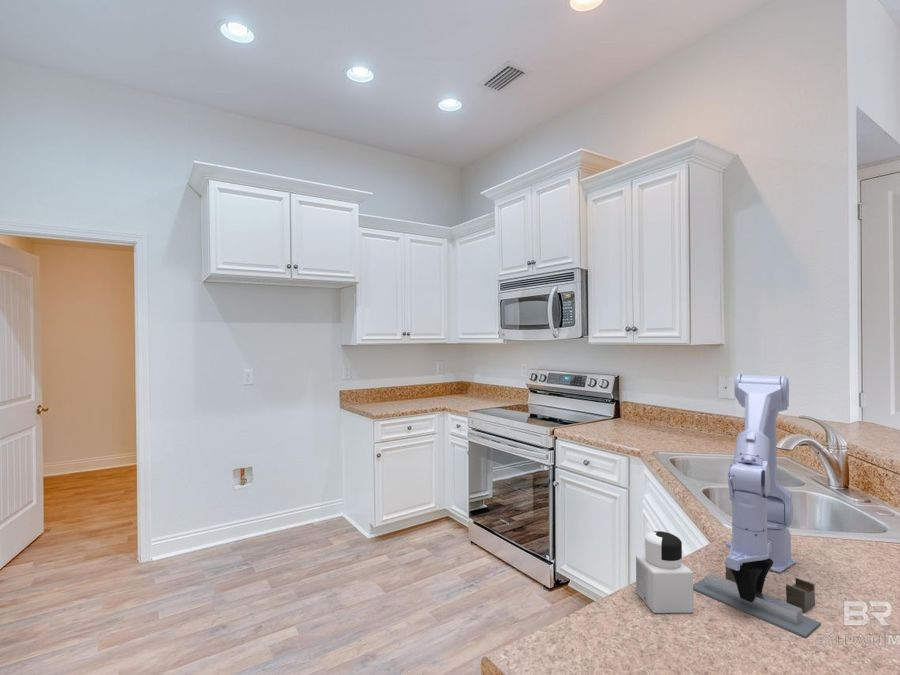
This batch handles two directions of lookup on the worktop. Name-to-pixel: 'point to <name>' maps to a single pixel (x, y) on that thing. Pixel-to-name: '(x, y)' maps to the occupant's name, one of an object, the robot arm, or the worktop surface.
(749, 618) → the worktop surface
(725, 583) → the rail
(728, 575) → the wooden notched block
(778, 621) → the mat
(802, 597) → the post
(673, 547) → the lidar sensor
